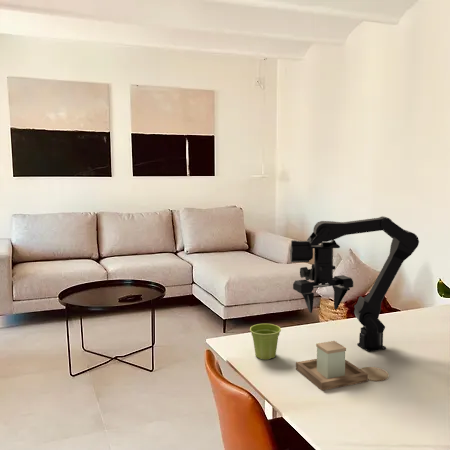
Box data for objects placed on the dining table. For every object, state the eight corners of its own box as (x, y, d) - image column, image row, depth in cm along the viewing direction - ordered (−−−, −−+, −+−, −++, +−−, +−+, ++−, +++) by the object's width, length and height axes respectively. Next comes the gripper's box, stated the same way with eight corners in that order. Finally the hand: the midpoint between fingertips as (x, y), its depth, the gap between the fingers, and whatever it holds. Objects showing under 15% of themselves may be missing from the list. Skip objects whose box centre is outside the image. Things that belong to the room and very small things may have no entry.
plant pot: (279, 363, 141) (279, 334, 140) (247, 361, 143) (247, 333, 142) (282, 351, 150) (282, 324, 149) (252, 349, 152) (252, 322, 151)
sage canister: (334, 367, 136) (334, 340, 135) (345, 375, 131) (346, 347, 130) (316, 370, 134) (316, 343, 133) (327, 378, 129) (327, 351, 128)
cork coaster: (370, 366, 138) (370, 364, 138) (394, 376, 131) (394, 374, 131) (352, 373, 133) (352, 371, 133) (375, 383, 127) (375, 382, 127)
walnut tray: (338, 361, 141) (338, 355, 141) (367, 381, 128) (367, 374, 128) (295, 369, 137) (295, 362, 136) (321, 390, 123) (321, 382, 123)
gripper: (334, 255, 160) (334, 300, 162) (284, 259, 154) (284, 307, 156) (354, 261, 150) (354, 309, 152) (302, 266, 143) (302, 317, 145)
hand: (323, 310), depth 151 cm, fingers open, 9 cm apart
